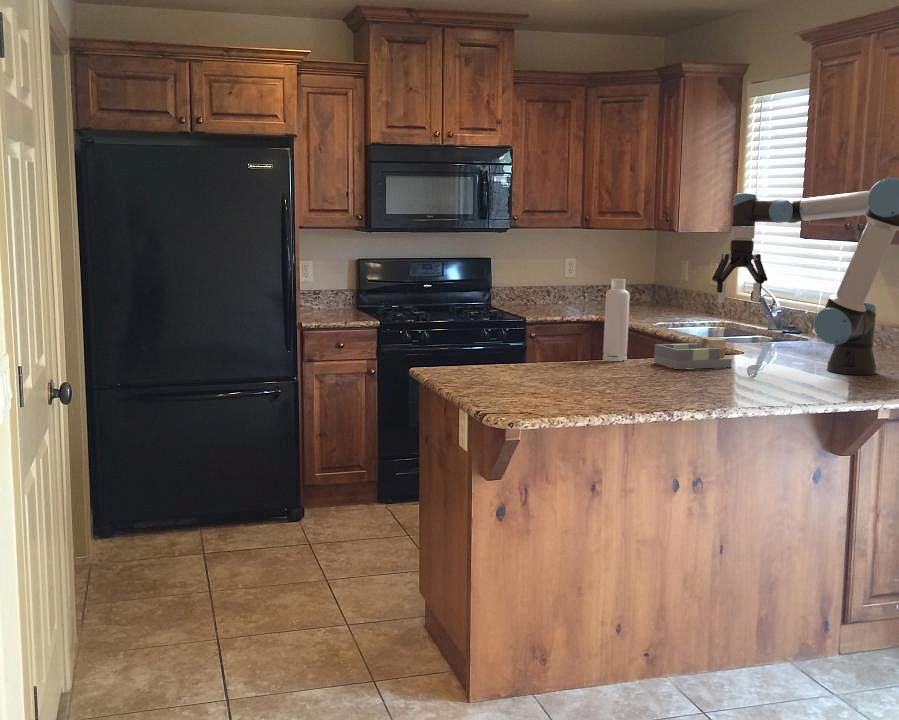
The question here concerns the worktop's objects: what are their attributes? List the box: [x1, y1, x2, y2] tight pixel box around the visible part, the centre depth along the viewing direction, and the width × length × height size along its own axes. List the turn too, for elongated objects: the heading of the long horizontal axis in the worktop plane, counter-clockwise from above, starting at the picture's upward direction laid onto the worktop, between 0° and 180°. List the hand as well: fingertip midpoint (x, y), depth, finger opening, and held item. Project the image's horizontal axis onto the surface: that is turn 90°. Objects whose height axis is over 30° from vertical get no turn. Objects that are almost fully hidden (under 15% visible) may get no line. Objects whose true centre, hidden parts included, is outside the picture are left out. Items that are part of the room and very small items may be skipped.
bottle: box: [602, 278, 631, 362], centre depth 337 cm, size 8×8×28 cm
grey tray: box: [653, 342, 732, 370], centre depth 329 cm, size 14×21×6 cm, turn 109°
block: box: [699, 336, 727, 357], centre depth 331 cm, size 6×6×6 cm
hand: (738, 302), depth 335 cm, fingers open, 13 cm apart
